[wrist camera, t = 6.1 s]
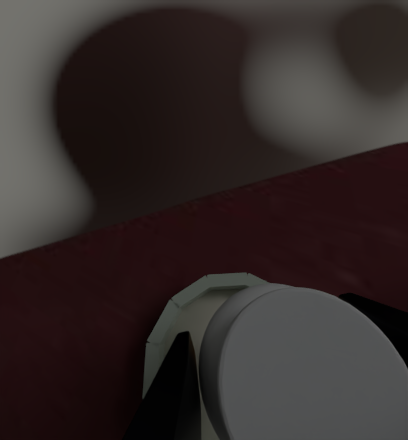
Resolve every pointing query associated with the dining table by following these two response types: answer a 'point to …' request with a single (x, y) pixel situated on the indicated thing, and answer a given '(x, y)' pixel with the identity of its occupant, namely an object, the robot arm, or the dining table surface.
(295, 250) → the dining table surface
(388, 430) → the supplement bottle
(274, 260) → the dining table surface
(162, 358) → the bowl
